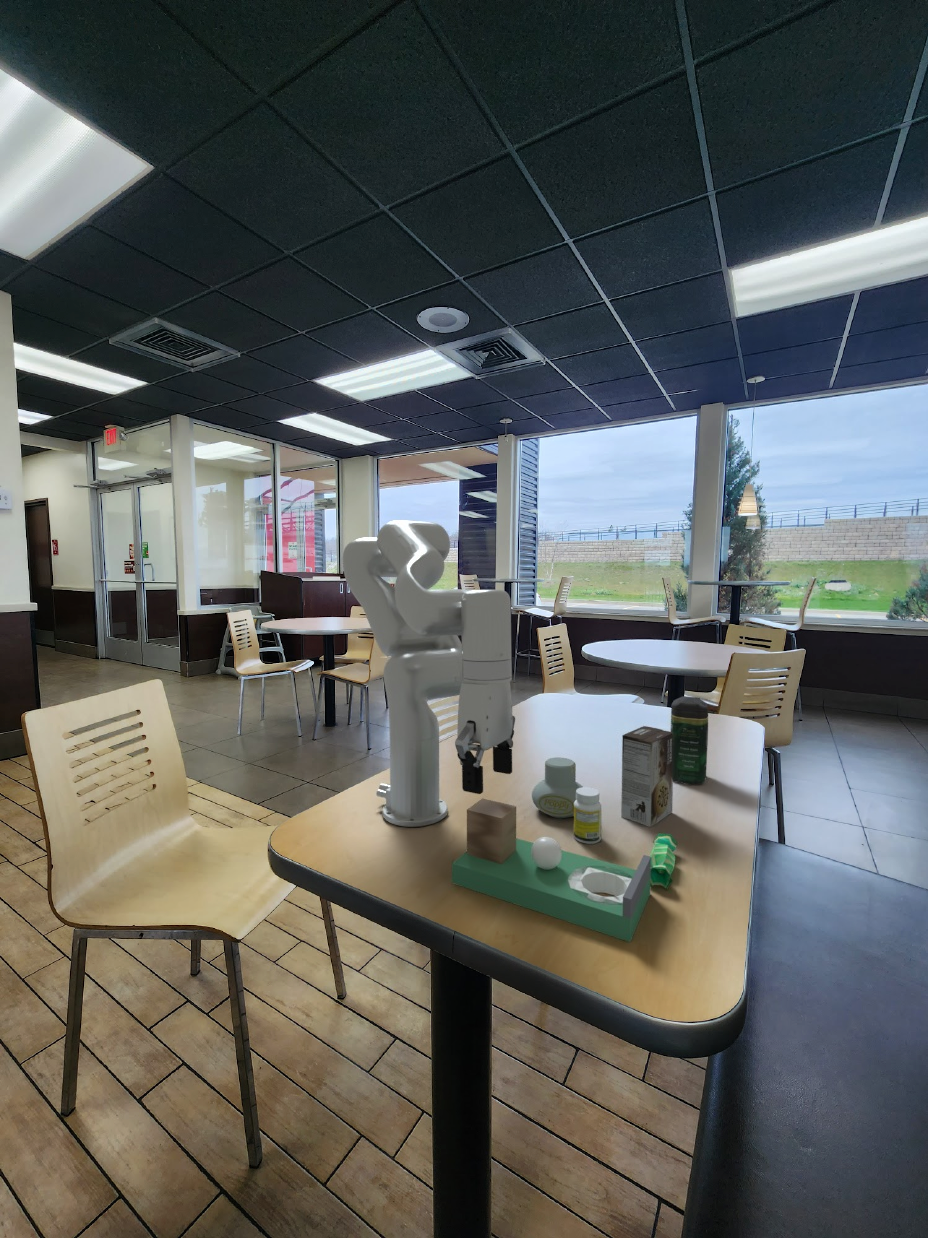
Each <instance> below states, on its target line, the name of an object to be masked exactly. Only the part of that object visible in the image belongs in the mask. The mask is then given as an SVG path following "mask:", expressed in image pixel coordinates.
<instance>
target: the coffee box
mask: <svg viewBox="0 0 928 1238" xmlns="http://www.w3.org/2000/svg"><path fill="white" fill-rule="evenodd" d="M621 742H622V745H621V747H622V750H621V753H622V754H621V757H622V758H621V811H620V813H621V815H620V816H621V818H623V819H627V820H629V821H632V822H634V823H638V824H641V825H644V826H646V827H649V828H650V827H651V828H652V827H653V826H655V825H656V824H658V823H659V822H660V821H662V820H663V819H665V818H666V817H667V816H669V815H670V814H671V813H673V796H674V795H673V792H674V791H673V790H674V787H673V785H674V782H673V781H674V780H673V732H671V731H669V730H664V729H661V728H657V727H651V726H647V725H642V726H640V727H639V728H636V729H633V730H632V731H628V732H627V733H625V734H624V733H623V734H622V740H621Z"/></svg>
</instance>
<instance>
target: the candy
mask: <svg viewBox="0 0 928 1238" xmlns="http://www.w3.org/2000/svg"><path fill="white" fill-rule="evenodd" d="M652 843H653V847H652V849H651V851H650V854H649V856H650V857H651V879H650V888H652V887H653V886H654V885H655V886H662V887H663V888H664V889H665V891H667V890H668V888H670V886H671V885H672V883H673V878H672V876H671V875H672V873H673V871H674V869H675V863H676V856H675V853H673V852H674V851H675V850H676V848H677V846H678V843H677V841H676V840H675V838H674V836H673V835H672V834H670V833H661V832H659V833H658V834H657V836H656V837H655V839H654V840H653V841H652Z"/></svg>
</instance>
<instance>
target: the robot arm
mask: <svg viewBox="0 0 928 1238" xmlns="http://www.w3.org/2000/svg"><path fill="white" fill-rule="evenodd" d="M450 540H451V539H450V536H449V534H448V532H447V530H446V529H445V527H443V526H442V525H440V524H439V523H436V522H429V521H418V520H407V519H405V520H404V519H401V520H400V519H399V520H398V519H397V520H392V521H388V522H387V523H385V524H383V526H381V527H380V529H379V531H378V532H377V537H371V536H369V537H361V538H356V539H354V540H352V541H350V542H349V543H348V544H347V545H346V546H345V547H344V550H343V554H342V568H343V575H344V577H345V578H344V579H345V581H346V584H347V585H348V588H349V590H350V592H351V593H352V596H354V598H355V599H356V600H357V602H358V603H359V604H360V606H361V608H362V609H363V612H364V614H365V616H366V619H367V622H368V624H369V627H370V628H371V629H370V630H371V632H372V634H373V637H374V640H375V641H376V644H377V646H378V648H379V650H380V651H381V652H382V653H383V655H384V656H387V657H389V659H388V660H387V662H386V663H385V664H384V668H383V682H384V687H385V688H384V689H385V693H386V698H387V705H388V706H387V707H388V718H389V719H388V721H389V722H388V723H389V724H388V725H389V727H388V728H389V783H385V782H381V783H380V784H379V786H378V787H379V788H378V789H377V790H376V796H377V797H379V798H383V799H385V804H384V805H383V807H382V810H381V811H382V814H383V815H382V817H383V818H385V819H386V820H385V819H384V820H385V821H387V822H388V823H390V824H392V825H395V826H399V827H400V826H401V827H407V828H408V827H409V828H410V827H411V828H412V827H413V828H414V827H424V826H430V825H432V824H433V825H434V824H436V823H438V822H440V821H442V820H443V819H445V818H446V816H447V815H448V804H447V802H446V801H444V800H442V799H441V798H440V724H439V719H438V717H437V715H436V714H435V712H434V711H433V710H432V708H431V707H430V706H429V704H428V702H429V701H431V700H436V699H443V698H451V697H457V696H459V697H458V707H457V708H458V711H457V731H456V733H457V736H456V739H455V741H454V746H455V748H456V752H457V758H458V759H459V764H460V766H461V777H462V778H461V780H462V781H461V782H462V783H461V785H462V791H463V792H467V793H472V794H476V795H481V794H483V793H484V767H483V766H482V765H481V763H482V759H483V757H484V753H485V751H489V750H490V749H492V770H493V772H495V773H500V774H506V775H511V774H512V773H513V749H512V748H513V747H514V741H513V738H514V735H515V730H514V728H515V722H516V716H514V715H513V699H512V690H511V683H510V682H512V679H513V678H512V676H513V675H512V672H513V671H512V669H513V668H512V622H511V621H512V612H511V611H512V609H511V607H512V606H511V597H510V595H509V593H508V592H507V591H505V590H502V589H471V588H469V589H464V588H463V589H458V588H452V589H450V588H445V589H444V588H443V589H442V588H441V589H440V588H438V589H432V587H434V586H435V585H436V584H438V582H440V580H441V578H442V577H443V575H444V572H445V560H446V559H447V557H448V556H449V553H450V549H451V541H450ZM383 578H396V580H395V583H394V585H392V584H390V583H389V582H388V581H386V580H385V579H383ZM459 636H461V640H460V638H459ZM472 751H474V752H475V755H474V754H473V752H472Z"/></svg>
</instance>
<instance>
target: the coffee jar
mask: <svg viewBox="0 0 928 1238" xmlns="http://www.w3.org/2000/svg"><path fill="white" fill-rule="evenodd" d="M708 705H709V704H707V702H706V701H704V700H703V699H701V698H700V697H695V696H693V697H692V696H684V695H683V696H681V697H678V698H676V699H674V700H673V702H672V703H671V705H670V707H671V710H670V712H671V713H670V732H673V781H677V782H679V783H681V784H684V783H685V785H697V784H699V785H702V784H704V783H705V781H706V779H707V768H708V767H707V766H708V765H707V763H708V762H707V761H708V746H709V745H708V741H709V706H708Z"/></svg>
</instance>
